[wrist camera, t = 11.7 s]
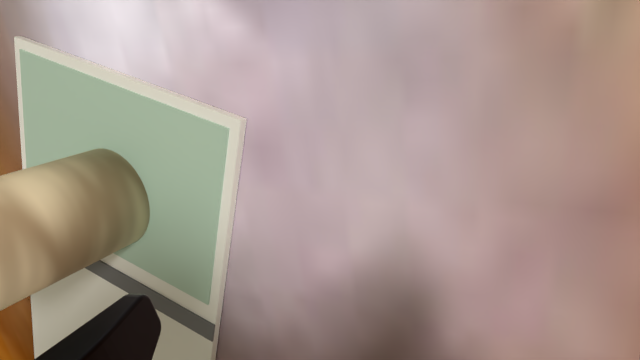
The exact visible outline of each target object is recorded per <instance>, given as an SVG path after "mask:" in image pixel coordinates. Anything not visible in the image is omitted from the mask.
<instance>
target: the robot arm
mask: <svg viewBox="0 0 640 360" xmlns="http://www.w3.org/2000/svg"><path fill="white" fill-rule="evenodd" d="M160 333H161V321H160V318H159V316H158V314H157V312H156V310H155V308H154V306H153V303H152V301H151V299H150V298H149V296H147V295H145V294H127V295H125V296H123V297H122V298H120V299H119V300H117V301H116V302H115V303H113V304H112V305H110V306H109V307H108V308H106V309H105V310H103V311H102V312H101V313H99V314H98V315H96V316H95V317H93V318H92V319H91V320H89V321H88V322H86V323H85V324H84V325H82V326H81V327H79V328H78V329H76V330H75V331H74V332H72V333H71V334H69V335H68V336H67V337H65V338H64V339H62V340H61V341H60V342H58V343H57V344H55V345H54V346H52V347H51V348H50V349H48V350H47V351H45V352H44V353H43V354H41V355H40V356H38V357H37V358H36V359H34V360H152V358H153V355H154V352H155V349H156V346H157V343H158V340H159V337H160Z"/></svg>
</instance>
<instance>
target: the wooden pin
mask: <svg viewBox="0 0 640 360" xmlns="http://www.w3.org/2000/svg"><path fill="white" fill-rule="evenodd" d="M149 218H150V207H149V200H148V196H147V193H146V190H145V187H144V185H143V182H142V181H141V179H140V177H139V175H138V174H137V172H136V171H135V169H134V168H133V167H132V165H131V164H130V163H129V162H128V161H127V160H126V159H124V158H123V157H122V156H121V155H119V154H118V153H116V152H114V151H111V150H108V149H103V148H98V149H93V150H90V151H86V152H83V153H79V154H76V155H72V156H69V157H65V158H62V159H58V160H55V161H51V162H48V163H44V164H40V165H37V166H33V167H30V168H26V169H23V170H19V171H16V172H12V173H9V174H5V175H2V176H0V311H1V310H3V309H5V308H7V307H8V306H10V305H12V304H14V303H16V302H18V301H20V300H22V299H24V298H26V297H28V296H30V295H32V294H34V293H36V292H38V291H40V290H42V289H44V288H46V287H48V286H50V285H52V284H54V283H56V282H58V281H60V280H62V279H63V278H65V277H67V276H69V275H71V274H73V273H75V272H77V271H79V270H81V269H83V268H85V267H87V266H89V265H91V264H93V263H95V262H97V261H99V260H101V259H103V258H105V257H107V256H109V255H111V254H113V253H115V252H116V251H118V250H120V249H122V248H124V247H126V246H128V245H130V244H132V243H134V242H136V241H138V240H139V239H140V238H141V237H142V236H143V235H144V234H145V232H146V230H147V227H148V224H149Z"/></svg>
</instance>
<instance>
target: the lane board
mask: <svg viewBox="0 0 640 360" xmlns="http://www.w3.org/2000/svg"><path fill="white" fill-rule="evenodd" d="M14 42H15V58H16V73H17V89H18V105H19V121H20V137H21V152H22V168H23V169H26V168H30V167H33V166H37V165H40V164H44V163H48V162H51V161H55V160H58V159H62V158H65V157H69V156H72V155H76V154H79V153H83V152H86V151H90V150H93V149H98V148H103V149H108V150H111V151H114V152H116V153H118V154H119V155H121V156H122V157H123V158H124V159H126V160H127V161H128V162H129V163H130V164H131V165H132V167H133V168H134V169H135V171H136V172H137V174H138V175H139V177H140V179H141V181H142V182H143V185H144V187H145V190H146V193H147V196H148V200H149V207H150V218H149V224H148V227H147V230H146V232H145V234H144V235H143V236H142V237H141V238H140V239H139V240H138V241H136V242H134V243H132V244H130V245H128V246H126V247H124V248H122V249H120V250H118V251H116V252H115V253H113V254H111V255H109V256H107V257H105V258H103V259H101V260H99V261H97V262H95V263H93V264H91V265H89V266H87V267H85V268H83V269H81V270H79V271H77V272H75V273H73V274H71V275H69V276H67V277H65V278H63V279H62V280H60V281H58V282H56V283H54V284H52V285H50V286H48V287H46V288H44V289H42V290H40V291H38V292H36V293H34V294H32V295H31V310H32V326H33V341H34V357H35V359H36V358H37V357H38V356H40V355H41V354H43V353H44V352H45V351H47V350H48V349H50V348H51V347H52V346H54V345H55V344H57V343H58V342H60V341H61V340H62V339H64V338H65V337H67V336H68V335H69V334H71V333H72V332H74V331H75V330H76V329H78V328H79V327H81V326H82V325H84V324H85V323H86V322H88V321H89V320H91V319H92V318H93V317H95V316H96V315H98V314H99V313H101V312H102V311H103V310H105V309H106V308H108V307H109V306H110V305H112V304H113V303H115V302H116V301H117V300H119V299H120V298H122V297H123V296H125V295H127V294H145V295H147V296H149V298H150V299H151V301H152V303H153V306H154V308H155V310H156V312H157V314H158V316H159V318H160V321H161V333H160V337H159V340H158V343H157V346H156V349H155V352H154V355H153V358H152V360H216V352H217V344H218V337H219V329H220V321H221V314H222V306H223V298H224V290H225V283H226V275H227V267H228V260H229V252H230V244H231V237H232V229H233V221H234V214H235V206H236V198H237V191H238V183H239V175H240V168H241V160H242V152H243V145H244V137H245V129H246V122H247V118H244V117H241V116H238V115H236V114H233V113H230V112H227V111H225V110H222V109H219V108H217V107H214V106H211V105H208V104H206V103H203V102H200V101H197V100H195V99H192V98H189V97H186V96H184V95H181V94H178V93H176V92H173V91H170V90H167V89H165V88H162V87H159V86H156V85H154V84H151V83H148V82H146V81H143V80H140V79H137V78H135V77H132V76H129V75H126V74H124V73H121V72H118V71H116V70H113V69H110V68H107V67H105V66H102V65H99V64H96V63H94V62H91V61H88V60H85V59H83V58H80V57H77V56H75V55H72V54H69V53H66V52H64V51H61V50H58V49H55V48H53V47H50V46H47V45H45V44H42V43H39V42H36V41H34V40H31V39H28V38H25V37H23V36H16V37H14Z"/></svg>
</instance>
